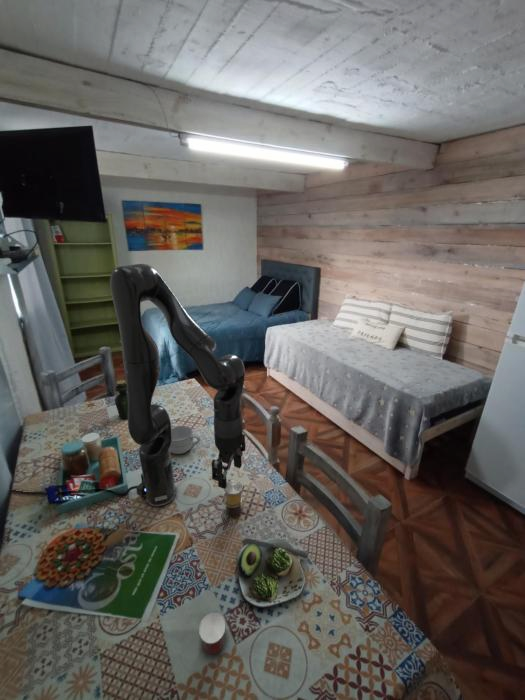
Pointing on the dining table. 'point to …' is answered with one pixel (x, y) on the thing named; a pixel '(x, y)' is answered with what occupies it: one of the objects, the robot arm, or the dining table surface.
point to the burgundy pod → (212, 632)
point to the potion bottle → (122, 399)
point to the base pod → (233, 508)
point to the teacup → (182, 439)
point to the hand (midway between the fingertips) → (230, 476)
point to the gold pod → (233, 492)
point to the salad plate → (269, 572)
